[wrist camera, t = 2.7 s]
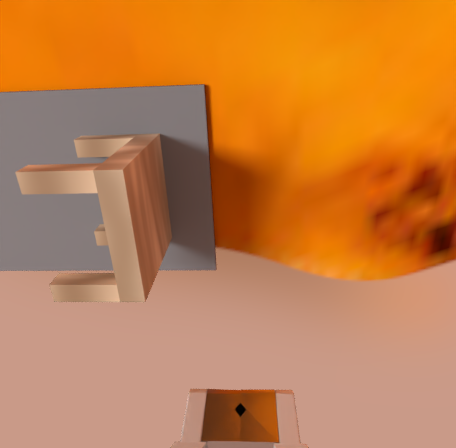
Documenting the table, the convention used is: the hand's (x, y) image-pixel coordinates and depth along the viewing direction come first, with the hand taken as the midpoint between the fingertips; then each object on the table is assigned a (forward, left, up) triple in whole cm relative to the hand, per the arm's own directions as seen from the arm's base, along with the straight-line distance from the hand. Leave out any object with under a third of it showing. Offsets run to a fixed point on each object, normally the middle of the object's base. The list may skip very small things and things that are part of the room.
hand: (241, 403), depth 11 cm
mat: (+13, 0, -18) cm, 22 cm away
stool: (+9, 0, -18) cm, 20 cm away
